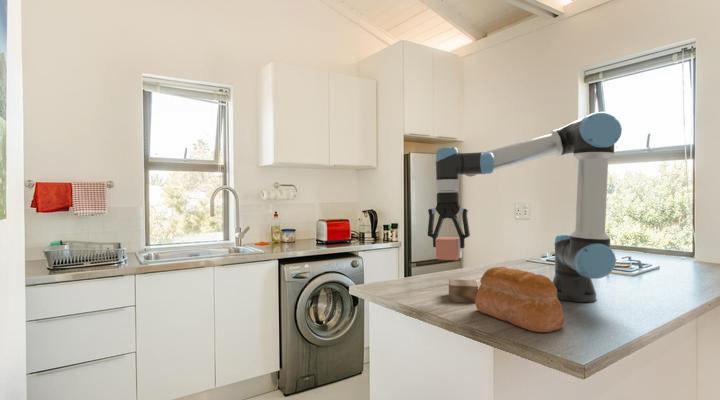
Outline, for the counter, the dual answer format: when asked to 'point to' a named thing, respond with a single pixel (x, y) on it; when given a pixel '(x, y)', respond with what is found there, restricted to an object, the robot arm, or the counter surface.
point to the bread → (520, 299)
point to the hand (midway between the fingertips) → (448, 256)
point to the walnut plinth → (462, 290)
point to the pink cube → (447, 248)
